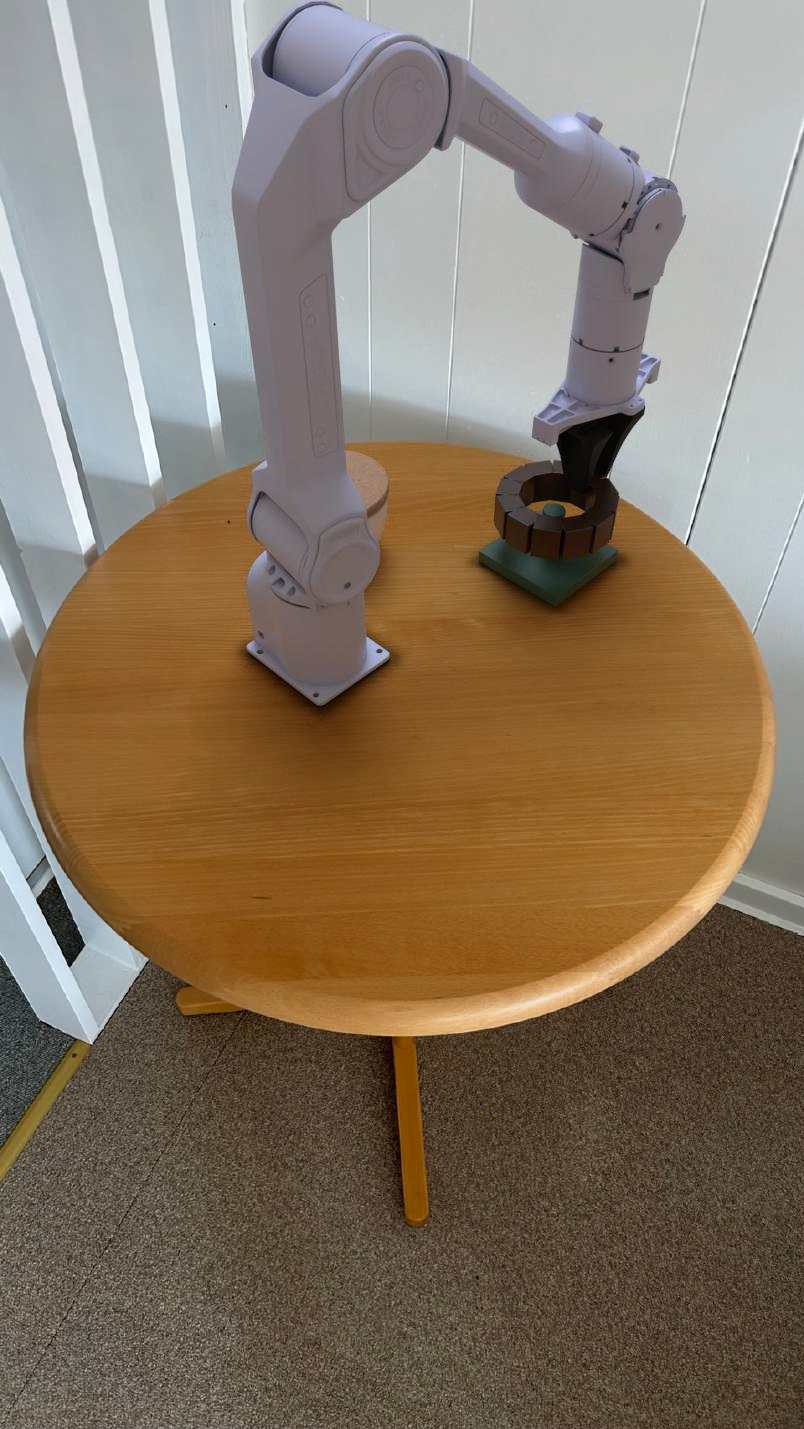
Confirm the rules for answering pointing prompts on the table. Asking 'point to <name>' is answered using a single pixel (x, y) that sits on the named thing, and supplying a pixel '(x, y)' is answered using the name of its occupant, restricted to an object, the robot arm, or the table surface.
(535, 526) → the ring
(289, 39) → the robot arm
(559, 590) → the peg stand
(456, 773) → the table surface
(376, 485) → the trinket box
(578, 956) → the table surface
